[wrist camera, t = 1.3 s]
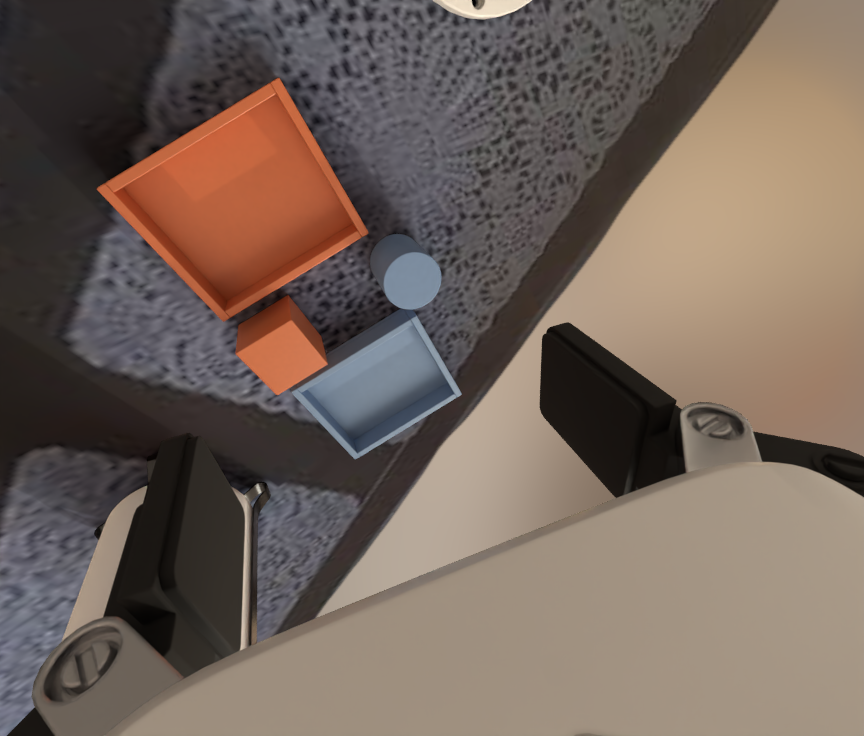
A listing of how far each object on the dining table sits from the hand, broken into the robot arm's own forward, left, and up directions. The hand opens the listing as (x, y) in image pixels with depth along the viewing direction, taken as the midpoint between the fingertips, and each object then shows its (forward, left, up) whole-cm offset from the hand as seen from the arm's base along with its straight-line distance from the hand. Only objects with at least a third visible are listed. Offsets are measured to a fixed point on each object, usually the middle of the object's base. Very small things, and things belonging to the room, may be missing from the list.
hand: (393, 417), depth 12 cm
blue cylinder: (-4, +6, -24) cm, 25 cm away
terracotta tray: (+3, -3, -24) cm, 25 cm away
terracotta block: (+7, +6, -24) cm, 26 cm away
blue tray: (+3, +15, -24) cm, 29 cm away
